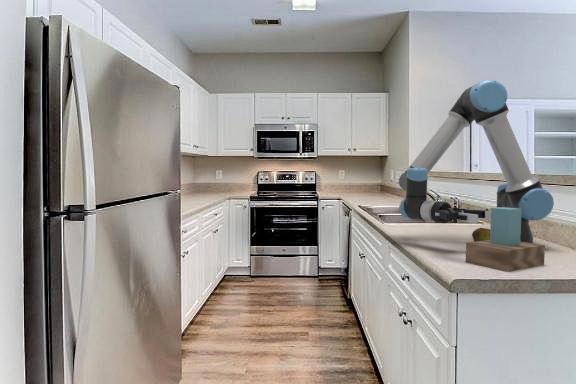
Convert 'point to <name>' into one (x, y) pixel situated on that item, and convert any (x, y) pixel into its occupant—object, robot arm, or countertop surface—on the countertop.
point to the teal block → (505, 226)
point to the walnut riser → (505, 255)
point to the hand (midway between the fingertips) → (491, 217)
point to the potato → (481, 234)
